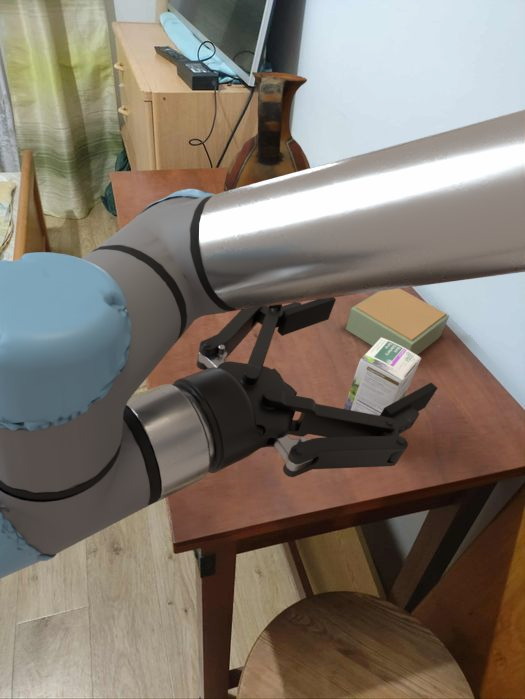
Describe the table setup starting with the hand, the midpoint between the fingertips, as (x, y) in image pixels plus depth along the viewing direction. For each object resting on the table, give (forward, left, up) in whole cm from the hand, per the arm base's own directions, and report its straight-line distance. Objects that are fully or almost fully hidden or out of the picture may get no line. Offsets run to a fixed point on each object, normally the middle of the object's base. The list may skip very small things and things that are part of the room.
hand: (375, 348), depth 50 cm
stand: (+12, -32, -22) cm, 41 cm away
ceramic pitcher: (+55, -44, -22) cm, 74 cm away
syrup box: (+2, -9, -22) cm, 24 cm away
